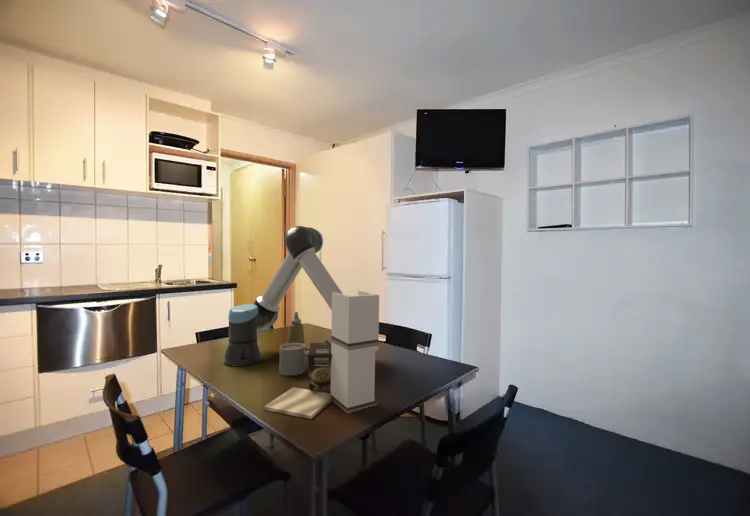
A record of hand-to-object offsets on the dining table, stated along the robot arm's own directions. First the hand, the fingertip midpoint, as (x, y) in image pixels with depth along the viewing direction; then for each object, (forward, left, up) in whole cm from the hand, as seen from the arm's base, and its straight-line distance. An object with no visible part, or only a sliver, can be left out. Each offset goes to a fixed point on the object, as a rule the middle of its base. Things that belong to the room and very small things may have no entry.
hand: (320, 357), depth 122 cm
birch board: (0, -13, -11) cm, 17 cm away
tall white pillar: (+15, -6, -12) cm, 20 cm away
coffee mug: (-17, +11, -11) cm, 23 cm away
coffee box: (+1, 0, -10) cm, 10 cm away
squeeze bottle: (-34, +38, -11) cm, 52 cm away
